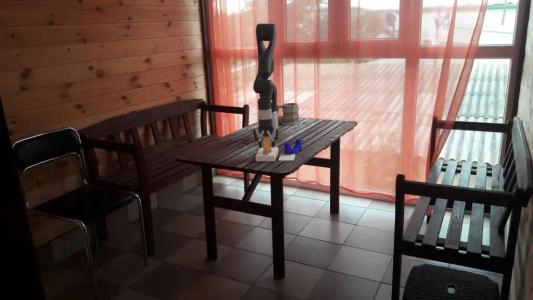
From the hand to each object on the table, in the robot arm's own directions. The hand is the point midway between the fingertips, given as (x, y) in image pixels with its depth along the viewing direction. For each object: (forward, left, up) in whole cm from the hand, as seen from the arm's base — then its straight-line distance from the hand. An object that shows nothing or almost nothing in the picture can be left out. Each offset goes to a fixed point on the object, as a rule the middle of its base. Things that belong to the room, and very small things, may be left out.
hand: (267, 147), depth 238 cm
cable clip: (-7, +14, -5) cm, 16 cm away
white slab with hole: (0, 0, -5) cm, 5 cm away
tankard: (-77, +2, -5) cm, 77 cm away
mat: (+3, +11, -5) cm, 12 cm away
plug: (0, 0, -5) cm, 5 cm away
